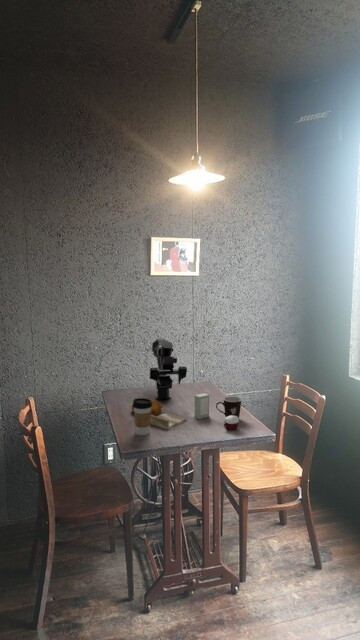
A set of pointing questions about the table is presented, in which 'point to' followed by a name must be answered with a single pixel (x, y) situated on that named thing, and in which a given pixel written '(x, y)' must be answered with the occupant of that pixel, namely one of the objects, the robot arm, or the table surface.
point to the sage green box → (201, 406)
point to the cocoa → (232, 420)
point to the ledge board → (166, 420)
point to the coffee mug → (230, 406)
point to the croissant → (154, 407)
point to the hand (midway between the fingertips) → (170, 384)
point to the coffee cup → (142, 415)
